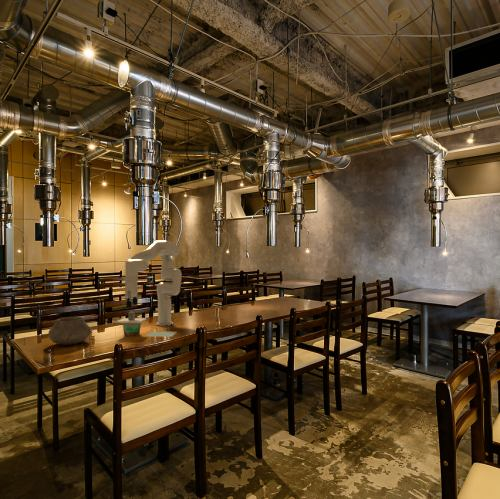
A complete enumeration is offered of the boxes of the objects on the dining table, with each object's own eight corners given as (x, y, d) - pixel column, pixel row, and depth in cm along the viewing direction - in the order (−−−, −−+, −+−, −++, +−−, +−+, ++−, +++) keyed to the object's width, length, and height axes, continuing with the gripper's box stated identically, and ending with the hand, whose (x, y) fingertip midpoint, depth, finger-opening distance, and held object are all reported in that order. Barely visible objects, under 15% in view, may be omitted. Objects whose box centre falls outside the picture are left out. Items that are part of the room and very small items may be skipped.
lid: (123, 319, 216) (123, 310, 216) (145, 319, 215) (145, 310, 215) (116, 322, 206) (116, 313, 206) (140, 323, 205) (140, 313, 205)
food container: (120, 338, 206) (120, 322, 206) (121, 336, 212) (121, 320, 212) (141, 337, 209) (141, 321, 209) (141, 335, 215) (141, 319, 215)
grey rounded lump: (80, 337, 210) (81, 313, 210) (96, 343, 196) (97, 317, 196) (42, 344, 193) (42, 319, 193) (57, 351, 179) (57, 323, 180)
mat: (152, 332, 222) (152, 331, 222) (177, 332, 221) (177, 331, 221) (145, 337, 209) (145, 336, 209) (171, 337, 208) (171, 336, 208)
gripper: (131, 278, 220) (131, 303, 220) (120, 280, 203) (120, 308, 203) (142, 278, 220) (142, 303, 220) (132, 280, 202) (132, 308, 202)
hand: (132, 306), depth 211 cm, fingers open, 9 cm apart
